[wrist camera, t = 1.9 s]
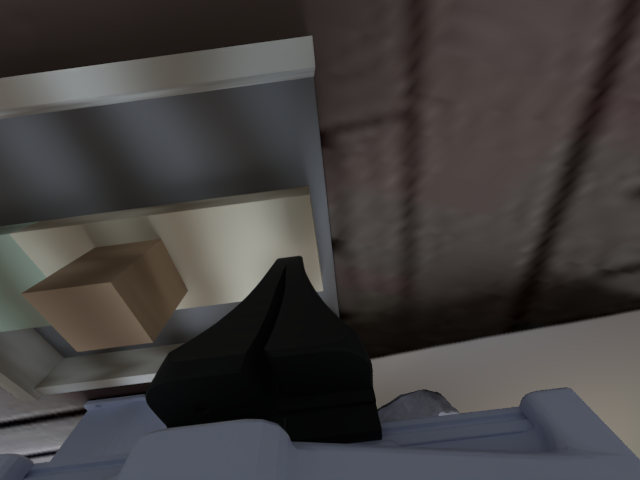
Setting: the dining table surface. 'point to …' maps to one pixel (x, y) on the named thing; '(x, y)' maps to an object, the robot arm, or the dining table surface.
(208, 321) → the box
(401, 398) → the stone block
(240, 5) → the dining table surface
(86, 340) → the walnut cube
